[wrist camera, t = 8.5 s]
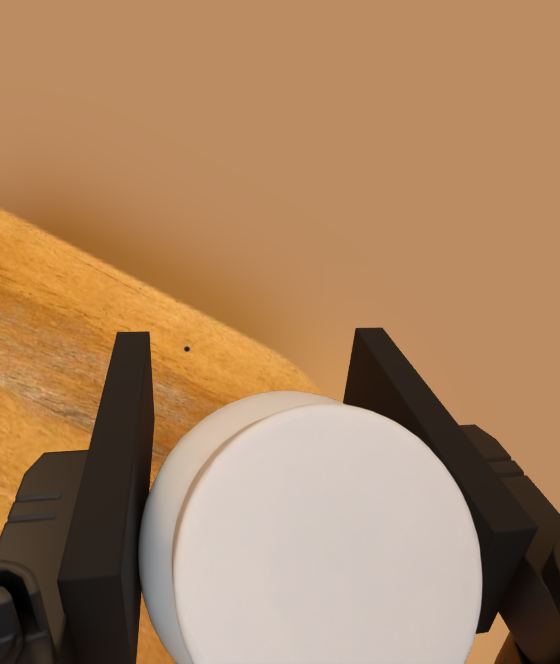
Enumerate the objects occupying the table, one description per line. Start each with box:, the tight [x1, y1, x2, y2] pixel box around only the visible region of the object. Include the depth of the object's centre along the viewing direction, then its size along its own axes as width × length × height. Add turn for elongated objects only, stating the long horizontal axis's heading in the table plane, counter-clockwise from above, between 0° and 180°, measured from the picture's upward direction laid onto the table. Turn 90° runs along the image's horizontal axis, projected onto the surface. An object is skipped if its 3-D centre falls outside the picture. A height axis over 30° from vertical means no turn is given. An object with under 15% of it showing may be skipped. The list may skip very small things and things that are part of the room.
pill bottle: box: [138, 391, 482, 664], centre depth 10 cm, size 5×5×10 cm
